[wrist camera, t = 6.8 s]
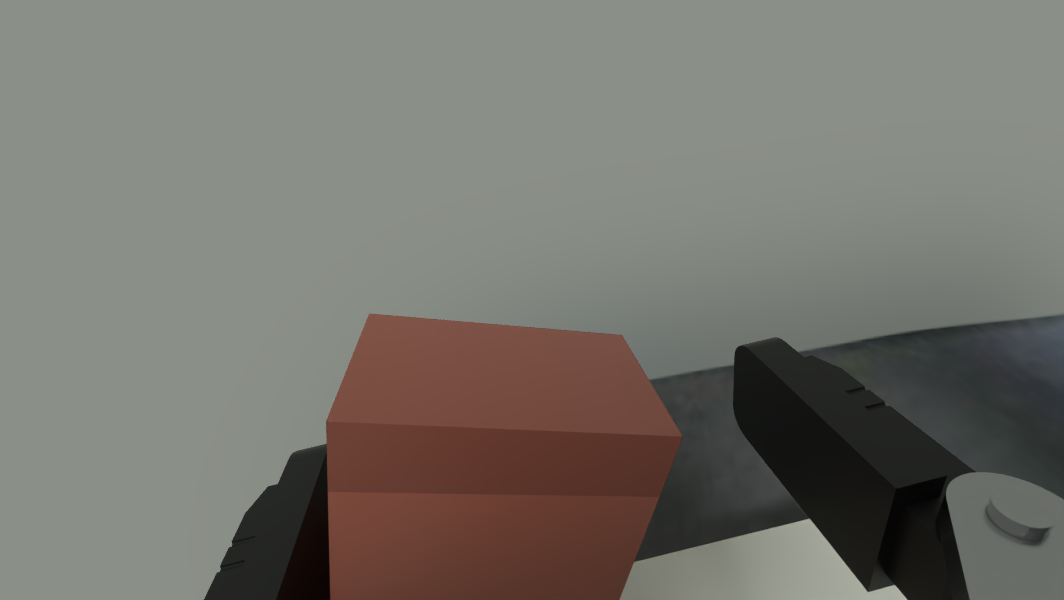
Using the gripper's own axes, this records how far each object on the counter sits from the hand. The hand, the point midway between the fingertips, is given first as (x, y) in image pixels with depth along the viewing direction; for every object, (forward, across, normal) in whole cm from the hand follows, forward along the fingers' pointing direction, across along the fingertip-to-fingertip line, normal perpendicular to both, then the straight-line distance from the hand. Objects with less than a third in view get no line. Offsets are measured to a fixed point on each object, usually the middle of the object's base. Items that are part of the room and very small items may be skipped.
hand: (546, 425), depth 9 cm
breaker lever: (-2, +4, +8) cm, 10 cm away
